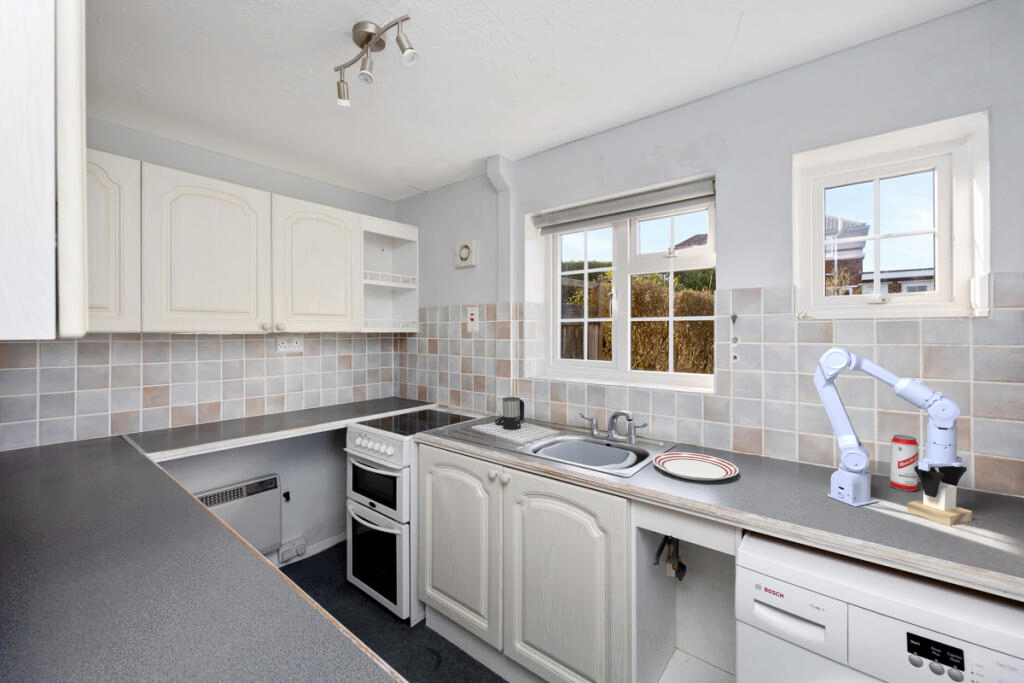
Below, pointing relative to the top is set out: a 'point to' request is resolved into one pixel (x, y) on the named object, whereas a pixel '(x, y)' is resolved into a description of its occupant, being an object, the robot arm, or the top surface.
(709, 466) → the dinner plate
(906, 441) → the beer can
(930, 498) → the white block
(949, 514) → the oak block
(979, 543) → the top surface
